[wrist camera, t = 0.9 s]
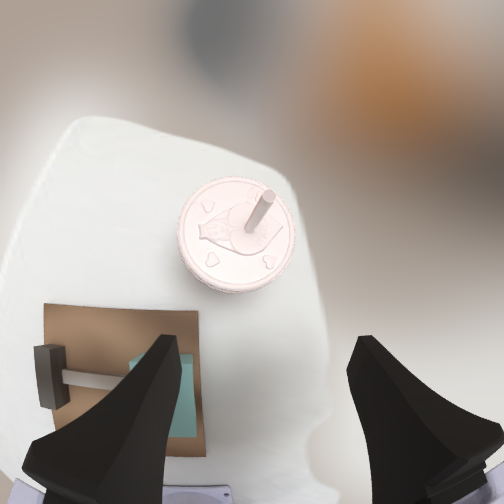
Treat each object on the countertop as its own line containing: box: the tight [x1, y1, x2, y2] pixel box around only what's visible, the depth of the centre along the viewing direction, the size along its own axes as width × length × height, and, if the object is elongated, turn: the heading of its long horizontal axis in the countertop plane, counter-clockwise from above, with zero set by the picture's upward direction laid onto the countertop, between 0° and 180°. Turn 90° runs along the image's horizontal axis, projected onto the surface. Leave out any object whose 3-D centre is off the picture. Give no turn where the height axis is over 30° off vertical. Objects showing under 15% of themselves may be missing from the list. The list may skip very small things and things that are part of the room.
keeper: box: [129, 353, 197, 437], centre depth 18 cm, size 5×4×5 cm
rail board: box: [34, 303, 206, 457], centre depth 18 cm, size 13×14×4 cm
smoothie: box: [177, 176, 296, 293], centre depth 17 cm, size 6×6×14 cm
